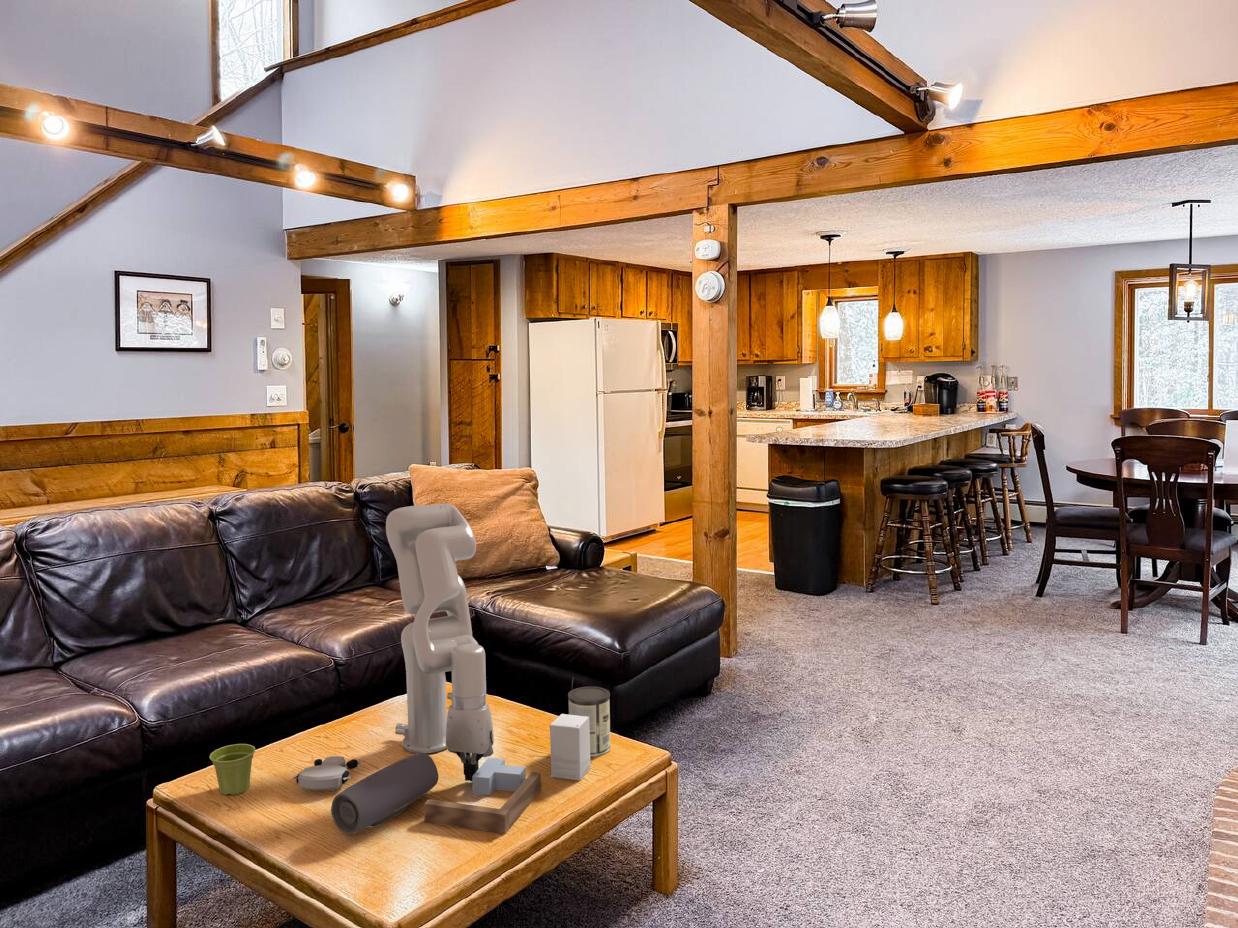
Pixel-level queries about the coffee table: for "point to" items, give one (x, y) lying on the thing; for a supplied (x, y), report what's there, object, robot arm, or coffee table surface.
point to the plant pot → (233, 767)
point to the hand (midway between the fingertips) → (471, 778)
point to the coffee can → (593, 715)
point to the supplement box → (570, 747)
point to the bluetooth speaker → (384, 793)
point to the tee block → (497, 777)
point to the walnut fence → (485, 810)
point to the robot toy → (326, 773)
